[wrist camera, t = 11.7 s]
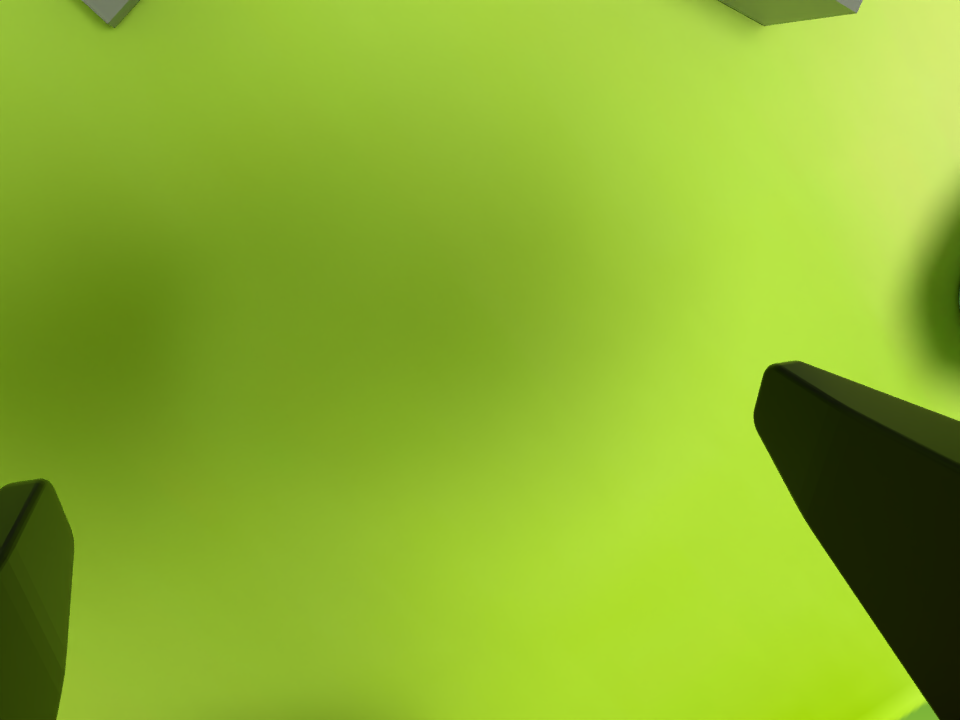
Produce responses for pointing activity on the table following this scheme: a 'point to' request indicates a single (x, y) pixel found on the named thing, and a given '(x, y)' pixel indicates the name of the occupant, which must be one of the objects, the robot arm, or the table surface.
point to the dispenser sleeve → (792, 9)
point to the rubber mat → (111, 9)
